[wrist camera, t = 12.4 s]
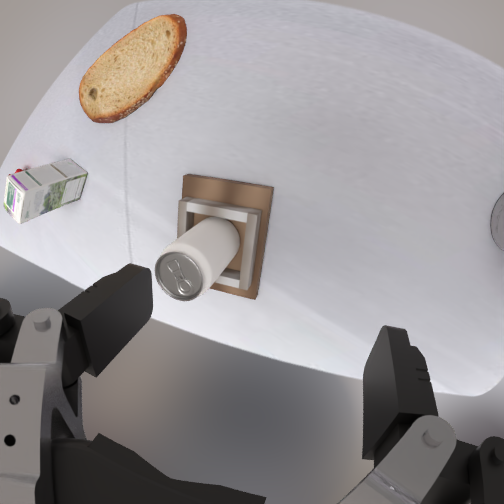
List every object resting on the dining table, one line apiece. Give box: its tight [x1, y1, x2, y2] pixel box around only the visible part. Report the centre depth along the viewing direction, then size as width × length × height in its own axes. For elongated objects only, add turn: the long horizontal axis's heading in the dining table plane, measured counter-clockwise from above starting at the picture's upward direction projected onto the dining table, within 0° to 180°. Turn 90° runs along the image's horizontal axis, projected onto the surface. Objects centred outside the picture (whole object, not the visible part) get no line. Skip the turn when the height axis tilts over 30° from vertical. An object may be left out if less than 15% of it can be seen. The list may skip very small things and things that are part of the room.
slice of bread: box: [79, 14, 187, 123], centre depth 35 cm, size 18×18×4 cm
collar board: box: [177, 174, 274, 300], centre depth 41 cm, size 12×16×4 cm
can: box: [155, 217, 240, 301], centre depth 36 cm, size 6×6×12 cm
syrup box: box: [4, 159, 87, 224], centre depth 40 cm, size 6×6×14 cm
